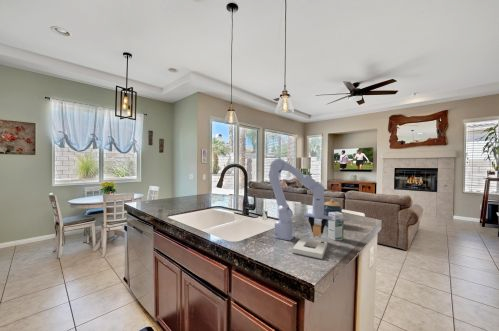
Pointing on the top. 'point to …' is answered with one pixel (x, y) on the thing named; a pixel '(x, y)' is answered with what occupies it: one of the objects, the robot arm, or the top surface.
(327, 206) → the canister
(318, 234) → the plug
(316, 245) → the white cutout panel
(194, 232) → the top surface
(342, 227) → the syrup box
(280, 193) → the robot arm
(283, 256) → the top surface
